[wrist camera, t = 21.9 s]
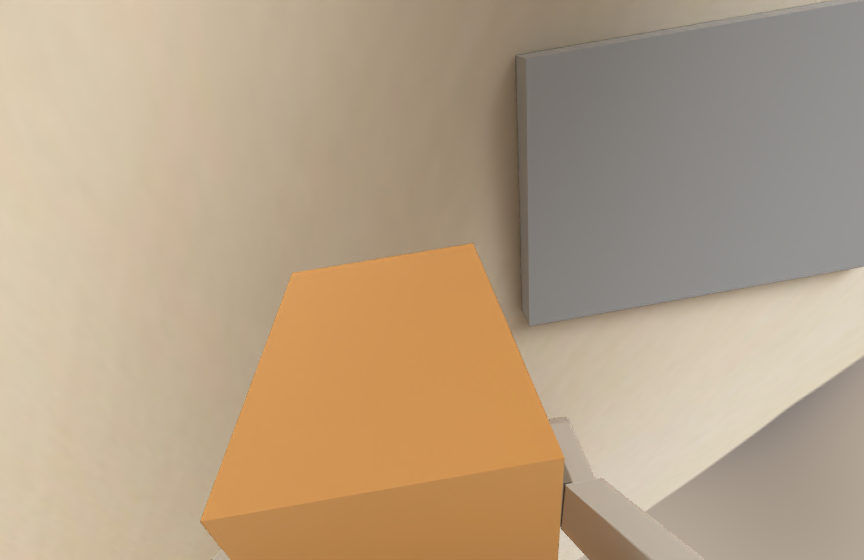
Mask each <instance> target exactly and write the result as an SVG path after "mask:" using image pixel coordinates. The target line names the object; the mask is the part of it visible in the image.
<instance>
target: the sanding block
mask: <svg viewBox="0 0 864 560" xmlns="http://www.w3.org/2000/svg"><path fill="white" fill-rule="evenodd" d="M563 473H564V455H563V453H562V451H561V448H560V446H559V444H558V441H557V439H556V436H555V434H554V432H553V429H552V427H551V425H550V422H549V420H548V418H547V415H546V413H545V411H544V408H543V406H542V404H541V401H540V399H539V397H538V394H537V392H536V390H535V387H534V385H533V383H532V380H531V378H530V376H529V373H528V371H527V368H526V366H525V364H524V361H523V359H522V357H521V354H520V352H519V350H518V347H517V345H516V343H515V340H514V338H513V336H512V333H511V331H510V329H509V326H508V324H507V322H506V319H505V317H504V315H503V312H502V310H501V308H500V305H499V303H498V300H497V298H496V296H495V293H494V291H493V289H492V286H491V284H490V282H489V279H488V277H487V275H486V272H485V270H484V268H483V265H482V263H481V261H480V258H479V256H478V254H477V251H476V249H475V247H474V244H473V243H471V244H465V245H459V246H453V247H447V248H441V249H435V250H429V251H423V252H417V253H411V254H404V255H398V256H392V257H386V258H380V259H374V260H368V261H362V262H356V263H350V264H344V265H338V266H331V267H325V268H319V269H313V270H307V271H301V272H295V273H292V275H291V278H290V280H289V283H288V286H287V288H286V291H285V294H284V297H283V299H282V302H281V305H280V307H279V310H278V313H277V315H276V318H275V321H274V324H273V326H272V329H271V332H270V334H269V337H268V340H267V342H266V345H265V348H264V351H263V353H262V356H261V359H260V361H259V364H258V367H257V369H256V372H255V375H254V378H253V380H252V383H251V386H250V388H249V391H248V394H247V396H246V399H245V402H244V405H243V407H242V410H241V413H240V415H239V418H238V421H237V423H236V426H235V429H234V431H233V434H232V437H231V440H230V442H229V445H228V448H227V450H226V453H225V456H224V458H223V461H222V464H221V467H220V469H219V472H218V475H217V477H216V480H215V483H214V485H213V488H212V491H211V494H210V496H209V499H208V502H207V504H206V507H205V510H204V512H203V515H202V518H201V521H200V522H201V524H202V525H203V526H204V527H205V529H206V530H207V531H208V532H209V534H210V535H211V536H212V537H213V539H214V540H215V541H216V542H217V544H218V545H219V546H220V547H221V549H222V550H223V551H224V552H225V554H226V555H227V556H228V557H229V559H230V560H558V549H559V534H560V519H561V504H562V489H563Z"/></svg>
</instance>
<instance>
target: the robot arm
mask: <svg viewBox="0 0 864 560" xmlns="http://www.w3.org/2000/svg"><path fill="white" fill-rule="evenodd" d="M548 420H549V422H550V425H551V427H552V429H553V432H554V434H555V436H556V439H557V441H558V444H559V446H560V448H561V451H562V453H563V455H564V473H563V489H562V504H561V519H560V527H561V529H562V530H563V531H564V533H565V534H566V535H567V536H568V537H569V538H570V539H571V540H572V541H573V542H574V543H575V544H576V546H577V547H578V548H579V549H580V550H581V551H582V552H583V553H584V554H585V555H586V556H587V557H588V558H589V560H705V559H704V558H703V557H701V556H700V555H699V554H698V553H696V552H695V551H694V550H692V549H691V548H690V547H689V546H687V545H686V544H685V543H683V542H682V541H681V540H680V539H678V538H677V537H676V536H675V535H673V534H672V533H671V532H670V531H668V530H667V529H666V528H665V527H663V526H662V525H661V524H660V523H658V522H657V521H656V520H654V519H653V518H652V517H651V516H649V515H648V514H647V513H646V512H644V511H643V510H642V509H641V508H639V507H638V506H637V505H635V504H634V503H633V502H632V501H630V500H629V499H628V498H627V497H625V496H624V495H623V494H622V493H620V492H619V491H618V490H616V489H615V488H614V487H613V486H611V485H610V484H609V483H608V482H606V481H605V480H604V479H603V478H600V479H596V478H595V476H594V474H593V472H592V470H591V467H590V465H589V463H588V461H587V459H586V456H585V454H584V452H583V450H582V448H581V446H580V443H579V441H578V439H577V437H576V435H575V432H574V430H573V428H572V426H571V424H570V422H569V420H568V419H567V418H566V417H558V418H553V419H548ZM212 560H230V559H229V557H228V556H227V555H226V554H225V552H224V551H223V550H222V549H220V550H219V551H218V552H217V554H216V555H215V556H214V557H213V558H212Z"/></svg>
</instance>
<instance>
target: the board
mask: <svg viewBox="0 0 864 560" xmlns="http://www.w3.org/2000/svg"><path fill="white" fill-rule="evenodd" d="M516 84H517V124H518V165H519V206H520V246H521V287H522V312H523V314H524V316H525V318H526V320H527V322H528V324H529V326H534V325H540V324H545V323H551V322H557V321H562V320H568V319H573V318H579V317H584V316H590V315H596V314H601V313H607V312H612V311H618V310H623V309H629V308H635V307H640V306H646V305H651V304H657V303H663V302H668V301H674V300H679V299H685V298H690V297H696V296H702V295H707V294H713V293H718V292H724V291H729V290H735V289H741V288H746V287H752V286H757V285H763V284H769V283H774V282H780V281H785V280H791V279H796V278H802V277H808V276H813V275H819V274H824V273H830V272H835V271H841V270H847V269H852V268H858V267H863V266H864V0H834V1H828V2H822V3H817V4H811V5H805V6H799V7H793V8H788V9H782V10H776V11H770V12H764V13H759V14H753V15H747V16H741V17H735V18H730V19H724V20H718V21H712V22H706V23H701V24H695V25H689V26H683V27H677V28H672V29H666V30H660V31H654V32H648V33H643V34H637V35H631V36H625V37H619V38H614V39H608V40H602V41H596V42H591V43H585V44H579V45H573V46H567V47H562V48H556V49H550V50H544V51H538V52H533V53H527V54H521V55H516Z"/></svg>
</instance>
